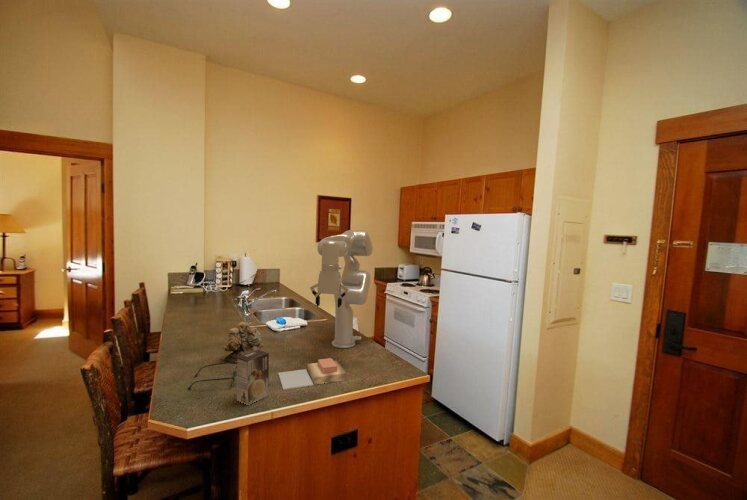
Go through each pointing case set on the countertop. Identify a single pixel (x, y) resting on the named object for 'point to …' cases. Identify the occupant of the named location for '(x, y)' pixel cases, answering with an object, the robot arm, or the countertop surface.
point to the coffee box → (252, 377)
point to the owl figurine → (242, 341)
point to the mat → (295, 379)
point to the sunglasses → (219, 378)
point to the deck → (325, 374)
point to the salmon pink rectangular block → (327, 365)
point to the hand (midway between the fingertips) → (328, 306)
